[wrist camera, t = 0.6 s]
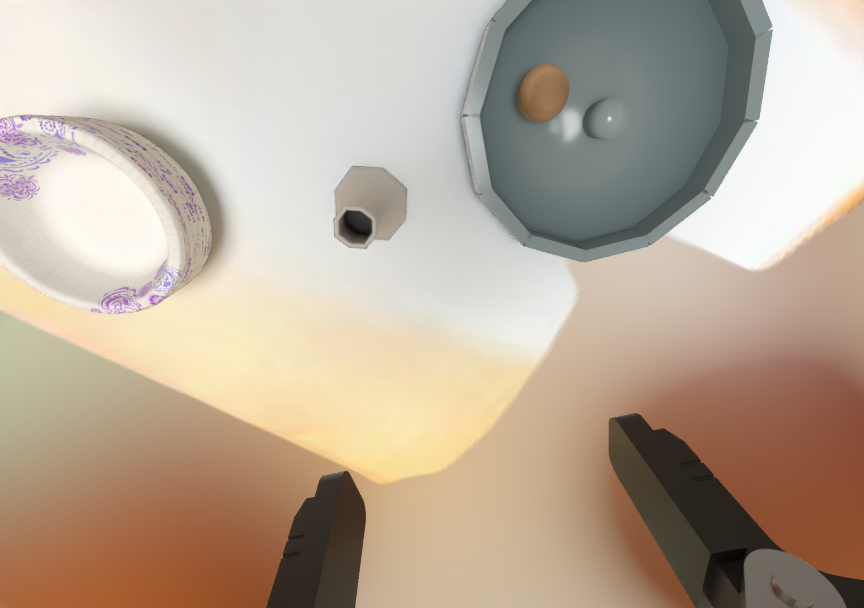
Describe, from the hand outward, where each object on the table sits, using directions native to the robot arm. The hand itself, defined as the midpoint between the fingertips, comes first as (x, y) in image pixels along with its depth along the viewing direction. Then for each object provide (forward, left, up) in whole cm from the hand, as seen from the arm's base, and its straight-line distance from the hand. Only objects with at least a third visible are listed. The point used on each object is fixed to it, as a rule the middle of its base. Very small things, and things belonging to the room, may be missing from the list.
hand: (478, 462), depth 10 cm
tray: (-7, +17, -27) cm, 33 cm away
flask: (-5, -5, -28) cm, 29 cm away
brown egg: (-10, +11, -26) cm, 30 cm away
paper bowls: (-10, -26, -28) cm, 39 cm away
